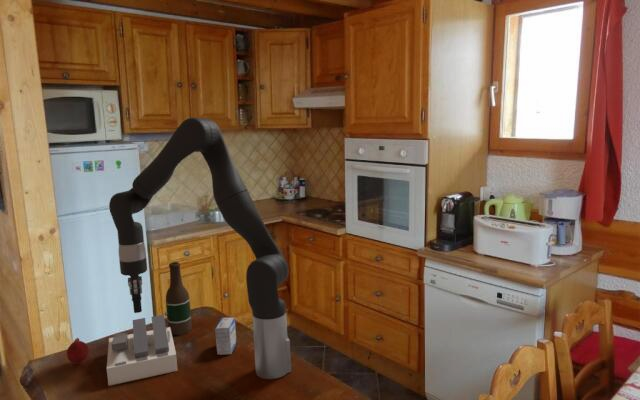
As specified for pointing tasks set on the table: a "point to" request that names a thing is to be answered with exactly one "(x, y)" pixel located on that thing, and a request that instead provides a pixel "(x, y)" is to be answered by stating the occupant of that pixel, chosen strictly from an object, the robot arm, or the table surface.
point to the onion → (77, 351)
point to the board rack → (139, 360)
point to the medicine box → (225, 336)
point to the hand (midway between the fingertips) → (137, 311)
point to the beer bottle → (178, 303)
